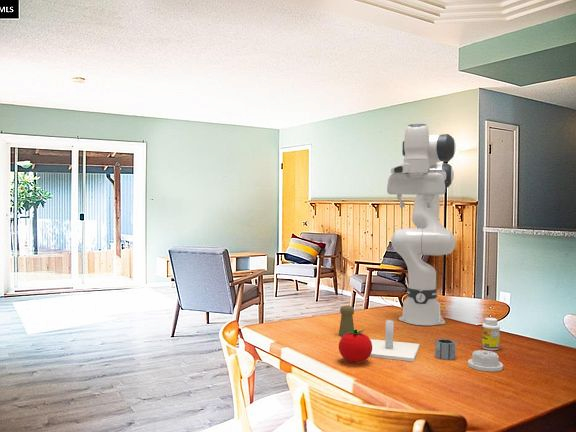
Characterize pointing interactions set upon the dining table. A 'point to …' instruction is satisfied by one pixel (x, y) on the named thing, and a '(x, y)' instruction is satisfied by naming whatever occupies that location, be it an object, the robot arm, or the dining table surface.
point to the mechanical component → (485, 361)
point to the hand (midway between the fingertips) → (415, 207)
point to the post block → (393, 347)
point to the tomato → (355, 346)
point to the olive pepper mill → (346, 320)
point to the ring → (445, 349)
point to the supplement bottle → (490, 334)
